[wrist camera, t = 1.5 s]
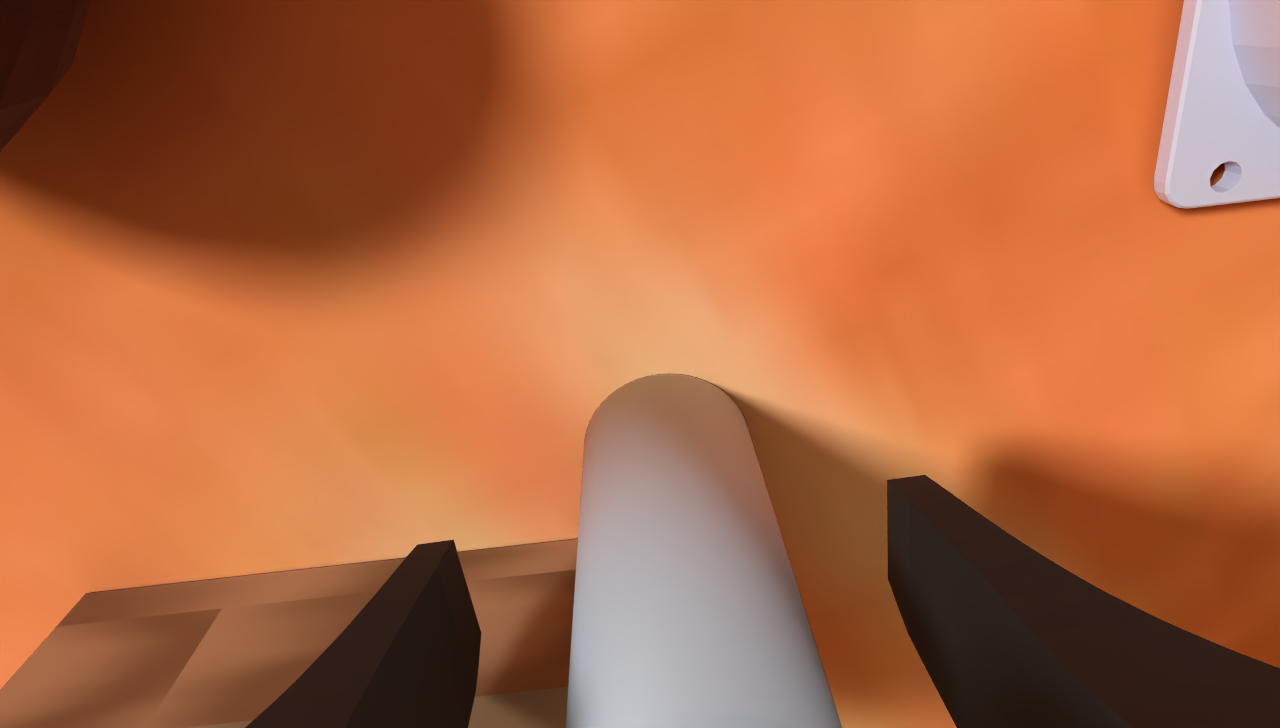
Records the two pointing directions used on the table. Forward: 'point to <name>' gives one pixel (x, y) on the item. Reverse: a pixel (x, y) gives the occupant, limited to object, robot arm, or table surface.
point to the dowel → (685, 574)
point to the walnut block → (286, 644)
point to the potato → (34, 54)
